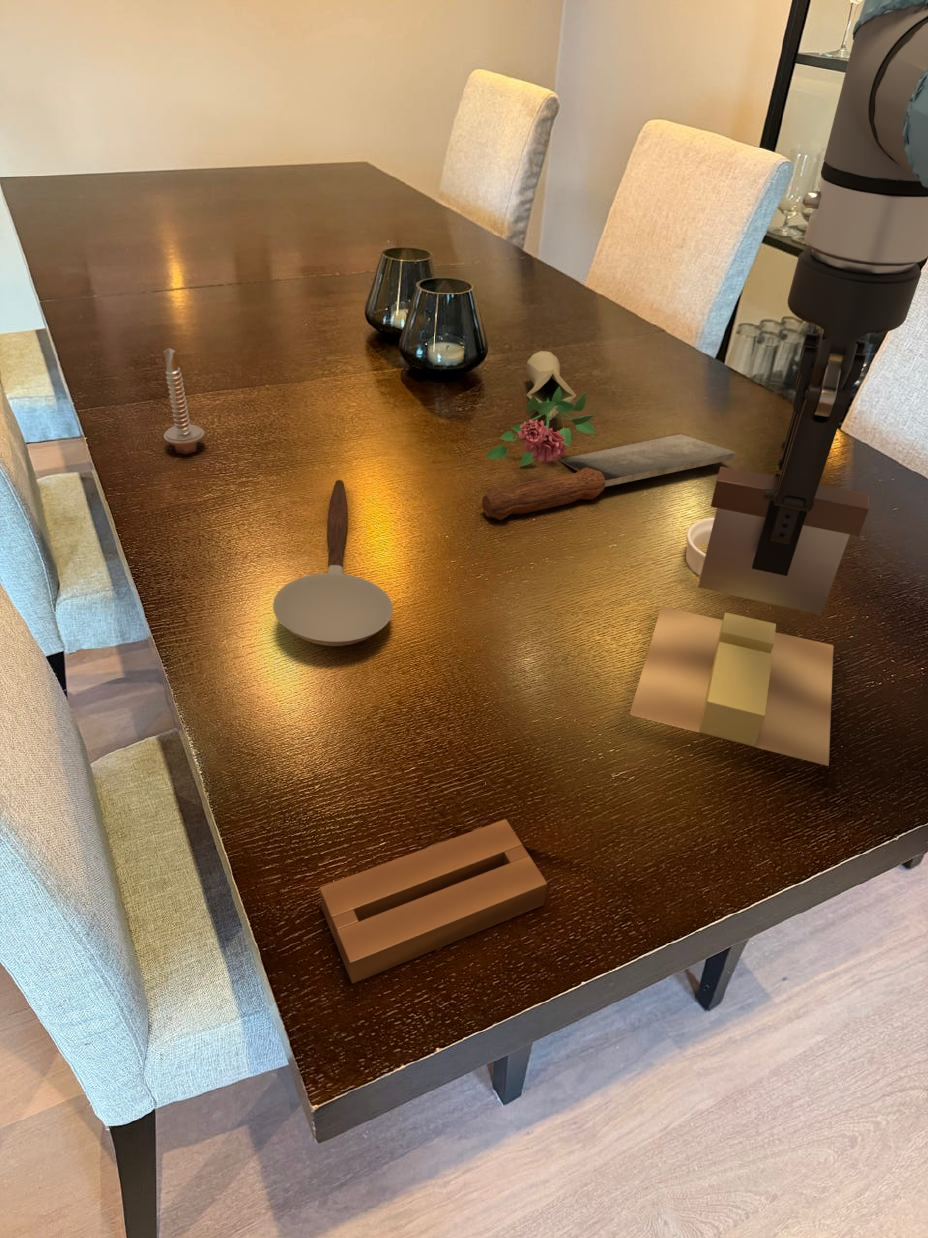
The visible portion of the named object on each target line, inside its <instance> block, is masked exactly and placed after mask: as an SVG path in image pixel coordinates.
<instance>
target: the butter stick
mask: <svg viewBox="0 0 928 1238" xmlns="http://www.w3.org/2000/svg"><path fill="white" fill-rule="evenodd" d="M771 664H772V654H770V653H766V652H762V651H757V650H753V649H749V648H745V647H740V646H736V645H732V644H727V643H723V642H719V644H718V648H717V651H716V655H715V659H714V662H713V666H712V670H711V674H710V679H709V684H708V689H707V694H706V699H705V703H704V708H703V713H702V718H701V723H700V728H699V732H702V733H705V734H704V735H706V734H709V735H708V736H710V735H713V736H712V737H714V736H717V737H716V738H718V737H721V738H720V739H722V738H725V739H729V740H732V741H731V742H733V741H736V742H735V743H737V742H740V743H739V744H741V743H744V744H743V745H745V744H748V745H747V746H749V745H752V746H755V744H756V741H757V738H758V735H759V732H760V729H761V726H762V723H763V720H764V717H765V712H766V704H767V696H768V688H769V680H770V672H771ZM702 733H701V734H702ZM725 739H724V740H725ZM729 740H728V741H729ZM752 746H751V747H752Z"/></svg>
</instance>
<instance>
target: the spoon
mask: <svg viewBox="0 0 928 1238" xmlns="http://www.w3.org/2000/svg"><path fill="white" fill-rule="evenodd" d="M345 487H346V486H345V483H344V481H343V480H341V479H337V480H335V483H334V485H333V489H332V493H331V495H330V501H329V505H328V512H327V521H326V522H327V527H326V533H327V534H326V535H327V537H326V538H327V545H328V562H327V571H326V573H325V572H323V573H316V574H315V573H314V574H309V575H306V576H302V577H299V578H296V579H294V580H292V581H290V582H288V583H287V584H285V585H284V586H282V588H280V589H279V590H278V591H277V593H276V594H275V596H274V598H273V602H272V610H273V613H274V616H275V618H276V619H277V621H278V623H280V624H281V626H283V627H284V629H286V630H287V631H289V632H290V633H291V634H293V635H294V636H296V637H298V638H300V639H302V640H304V641H307V642H308V643H312V644H316V645H321V646H326V647H342V646H348V645H353V644H357V643H360V642H363V641H366V640H367V639H369V638H371V637H373V636H374V635H376V634H378V633H379V632H380V631H381V630H383V629H384V628H385V627H386V626H387V625H388V623H389V622H390V621H391V618H392V616H393V612H394V608H393V607H394V606H393V602H392V600H391V598H390V596H389V595H388V594H387V592H386V591H385V590H384V589H382V588H381V587H380V586H378V585H377V584H375V583H373V582H371V581H369V580H367V579H365V578H362V577H360V576H355V575H351V574H346V573H345V574H344V554H345V553H344V552H345V546H346V543H347V535H348V525H349V523H348V522H349V521H348V520H349V515H348V511H349V510H348V501H347V500H348V499H347V494H346V488H345Z"/></svg>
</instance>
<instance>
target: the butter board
mask: <svg viewBox="0 0 928 1238" xmlns="http://www.w3.org/2000/svg"><path fill="white" fill-rule="evenodd" d="M722 622H723V619H720V618H715V617H710V616H706V615H703V614H698V613H695V612H694V613H693V612H689V611H685V610H680V609H676V608H671V607H667V606H661V607H660V610H659V612H658V616H657V620H656V623H655V626H654V629H653V633H652V636H651V640H650V643H649V646H648V650H647V654H646V656H645V661H644V663H643V667H642V671H641V674H640V677H639V680H638V684H637V688H636V691H635V694H634V697H633V700H632V704H631V707H630V710H629V715H630V716H633V717H637V718H641V719H644V720H649V721H653V722H657V723H661V724H665V725H668V726H673V727H675V728H680V729H683V730H687V731H691V732H694V733H699V734H703V735H706V736H710V737H715V738H718V739H722V740H725V741H730V742H734V743H737V744H742V745H746V746H748V747H753V748H756V749H761V750H765V751H768V752H771V753H775V754H780V755H784V756H787V757H791V758H795V759H799V760H803V761H807V762H810V763H815V764H819V765H822V766H826V767H829V765H830V747H831V745H830V743H831V721H832V719H831V718H832V694H833V671H834V670H833V669H834V668H833V667H834V645H833V644H830V643H826V642H820V641H817V640H812V639H808V638H803V637H799V636H794V635H790V634H787V633H782V632H777V631H775V639H774V645H773V648H772V652H771V654H772V664H771V672H770V680H769V688H768V696H767V704H766V712H765V717H764V720H763V723H762V726H761V729H760V732H759V735H758V738H757V741H756V744H755V746H752V745H748V744H744V743H740V742H736V741H732V740H729V739H725V738H721V737H717V736H713V735H709V734H705V733H702V732H699V728H700V723H701V718H702V713H703V708H704V703H705V699H706V694H707V689H708V684H709V679H710V674H711V670H712V666H713V659H714V654H715V649H716V644H717V640H718V636H719V633H720V629H721V625H722Z"/></svg>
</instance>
